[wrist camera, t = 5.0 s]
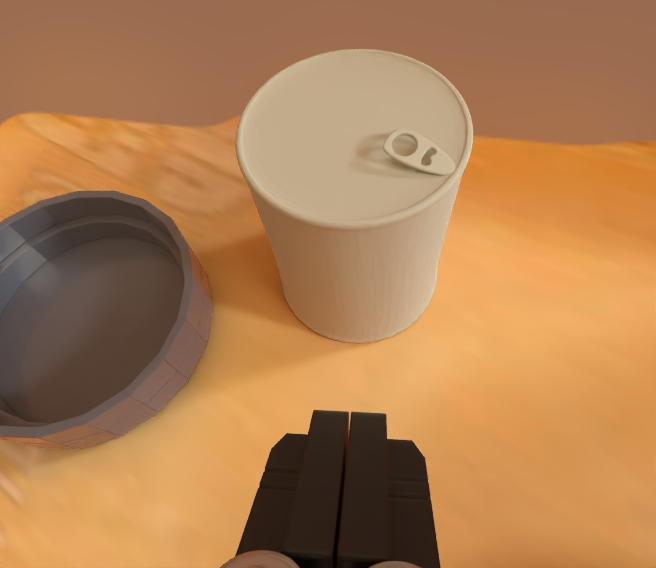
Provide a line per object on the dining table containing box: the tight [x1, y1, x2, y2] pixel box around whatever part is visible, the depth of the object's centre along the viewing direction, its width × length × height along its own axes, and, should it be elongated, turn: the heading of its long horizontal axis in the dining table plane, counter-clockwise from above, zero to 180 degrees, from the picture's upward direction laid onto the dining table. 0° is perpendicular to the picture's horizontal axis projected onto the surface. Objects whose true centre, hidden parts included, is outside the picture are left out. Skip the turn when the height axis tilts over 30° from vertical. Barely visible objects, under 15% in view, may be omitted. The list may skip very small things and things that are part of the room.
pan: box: [0, 191, 213, 449], centre depth 26 cm, size 14×14×4 cm
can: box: [236, 49, 473, 343], centre depth 23 cm, size 9×9×12 cm
